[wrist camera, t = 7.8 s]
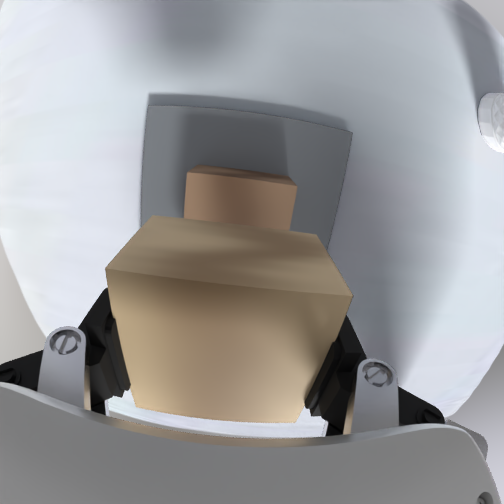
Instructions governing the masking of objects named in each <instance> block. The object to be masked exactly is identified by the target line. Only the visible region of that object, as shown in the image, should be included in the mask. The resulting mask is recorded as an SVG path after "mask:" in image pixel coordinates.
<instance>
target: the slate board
mask: <svg viewBox="0 0 504 504" xmlns="http://www.w3.org/2000/svg"><path fill="white" fill-rule="evenodd" d="M352 134H353V133H352V132H349V131H345V130H341V129H337V128H333V127H329V126H324V125H320V124H316V123H311V122H306V121H301V120H296V119H291V118H285V117H280V116H274V115H267V114H261V113H253V112H246V111H238V110H228V109H218V108H206V107H190V106H157V105H148V111H147V120H146V129H145V140H144V153H143V169H142V192H141V227H142V226H143V225H144V224H145V223H146V222H147V221H148V219H149V218H150V217H151V216H152V215H155V216H166V217H176V218H184V206H185V192H186V180H187V172H188V171H190V170H191V169H192V168H194V167H195V166H196V165H207V166H217V167H226V168H234V169H242V170H250V171H258V172H265V173H271V174H278V175H284V176H289V177H290V178H291V180H292V181H293V182H294V183H295V184H296V185H297V186H298V187H297V193H296V198H295V203H294V208H293V213H292V219H291V224H290V229H289V231H295V232H302V233H309V234H316V235H317V236H318V238H319V239H320V241H321V243H322V244H323V246H324V247H325V249H326V251H327V248H328V244H329V240H330V236H331V232H332V228H333V224H334V220H335V216H336V212H337V207H338V203H339V199H340V194H341V190H342V185H343V181H344V176H345V171H346V166H347V161H348V156H349V151H350V145H351V140H352Z"/></svg>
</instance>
